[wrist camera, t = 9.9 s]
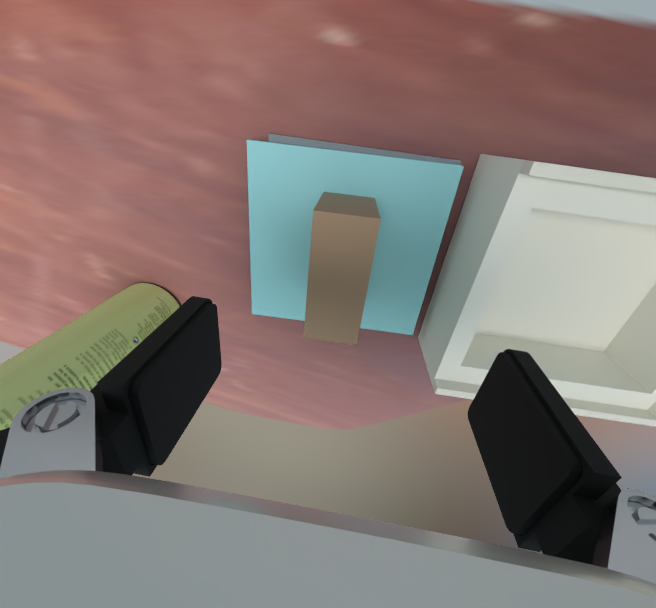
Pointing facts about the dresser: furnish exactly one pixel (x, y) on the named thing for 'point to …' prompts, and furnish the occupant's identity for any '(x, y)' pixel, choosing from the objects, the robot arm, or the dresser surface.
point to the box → (551, 286)
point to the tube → (83, 348)
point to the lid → (344, 236)
